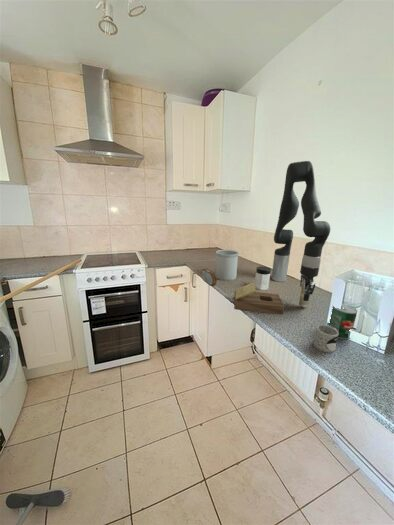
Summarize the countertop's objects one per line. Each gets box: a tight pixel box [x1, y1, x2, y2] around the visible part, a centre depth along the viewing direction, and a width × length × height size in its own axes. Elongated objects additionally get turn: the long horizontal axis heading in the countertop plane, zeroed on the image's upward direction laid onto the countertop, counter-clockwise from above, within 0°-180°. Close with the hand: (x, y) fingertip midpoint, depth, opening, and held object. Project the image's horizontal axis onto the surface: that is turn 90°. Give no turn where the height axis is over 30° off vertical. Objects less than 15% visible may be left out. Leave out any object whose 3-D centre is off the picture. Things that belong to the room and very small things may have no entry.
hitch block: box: [233, 289, 285, 315], centre depth 107 cm, size 14×22×4 cm, turn 80°
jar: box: [254, 265, 272, 291], centre depth 129 cm, size 9×8×12 cm
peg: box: [298, 281, 310, 308], centre depth 104 cm, size 4×4×12 cm
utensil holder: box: [215, 249, 240, 282], centre depth 144 cm, size 15×15×18 cm
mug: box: [313, 324, 339, 354], centre depth 77 cm, size 10×7×7 cm
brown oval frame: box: [201, 268, 218, 287], centre depth 133 cm, size 15×3×8 cm, turn 26°
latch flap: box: [235, 281, 257, 300], centre depth 106 cm, size 11×10×1 cm
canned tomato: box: [328, 305, 358, 340], centre depth 84 cm, size 8×8×11 cm
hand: (304, 298), depth 105 cm, fingers closed on peg, 4 cm apart
